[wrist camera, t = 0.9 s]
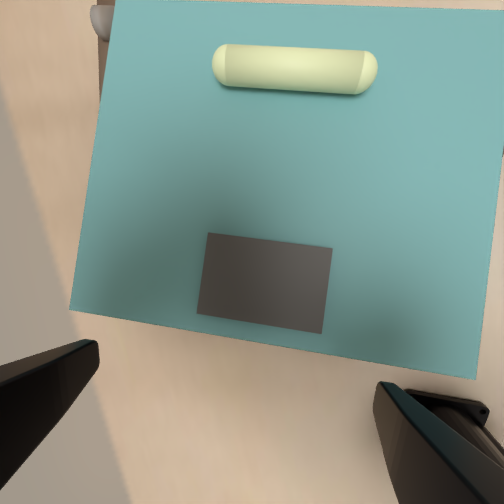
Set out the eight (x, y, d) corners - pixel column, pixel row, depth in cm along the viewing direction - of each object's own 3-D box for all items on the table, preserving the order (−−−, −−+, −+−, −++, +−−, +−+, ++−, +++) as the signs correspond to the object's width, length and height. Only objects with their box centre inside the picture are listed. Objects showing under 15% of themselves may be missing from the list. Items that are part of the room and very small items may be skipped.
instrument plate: (491, 39, 13) (559, -31, 10) (451, 365, 12) (509, 400, 9) (132, 24, 15) (94, -38, 12) (90, 304, 14) (40, 316, 11)
